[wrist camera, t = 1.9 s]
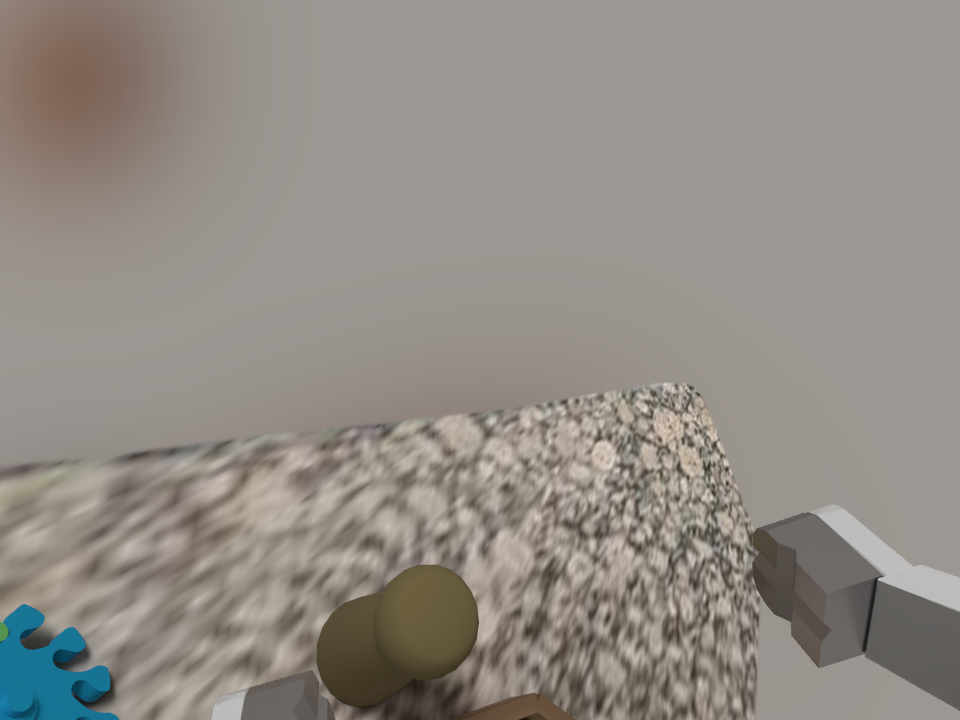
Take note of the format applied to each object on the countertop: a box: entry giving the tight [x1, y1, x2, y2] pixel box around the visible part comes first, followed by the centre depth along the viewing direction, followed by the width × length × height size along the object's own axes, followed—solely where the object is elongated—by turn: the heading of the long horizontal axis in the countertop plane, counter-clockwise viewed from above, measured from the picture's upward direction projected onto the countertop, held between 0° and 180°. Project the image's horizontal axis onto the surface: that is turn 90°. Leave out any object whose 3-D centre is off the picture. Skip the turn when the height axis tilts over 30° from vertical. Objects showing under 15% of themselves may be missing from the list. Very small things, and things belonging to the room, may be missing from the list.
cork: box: [317, 565, 479, 707], centre depth 31 cm, size 6×6×11 cm
